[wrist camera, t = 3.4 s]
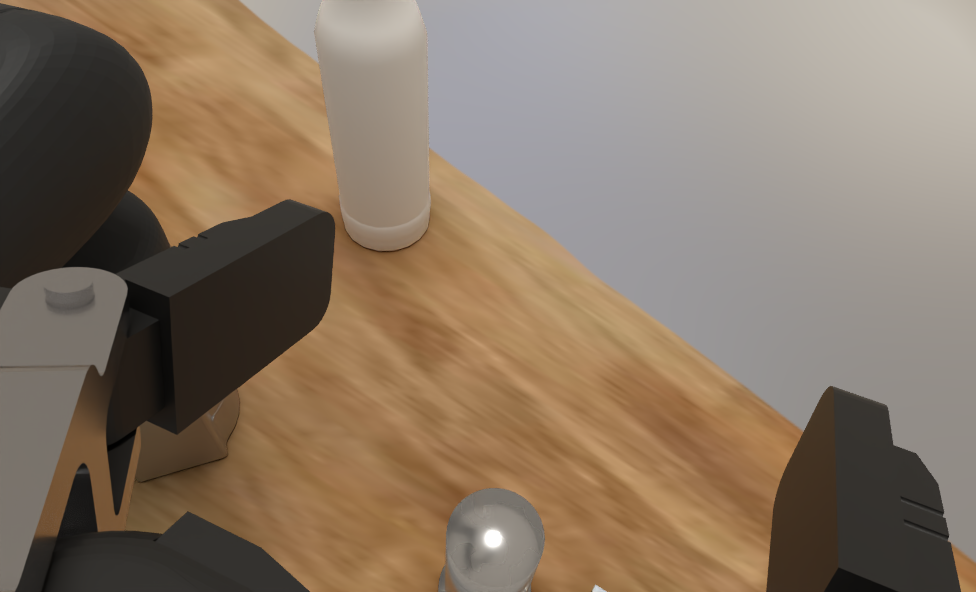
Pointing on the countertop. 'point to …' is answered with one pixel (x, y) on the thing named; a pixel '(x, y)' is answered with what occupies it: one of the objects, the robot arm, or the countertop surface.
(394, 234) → the bottle
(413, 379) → the countertop surface
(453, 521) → the flanged metal cylinder
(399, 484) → the countertop surface
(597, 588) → the base plate
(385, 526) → the countertop surface
